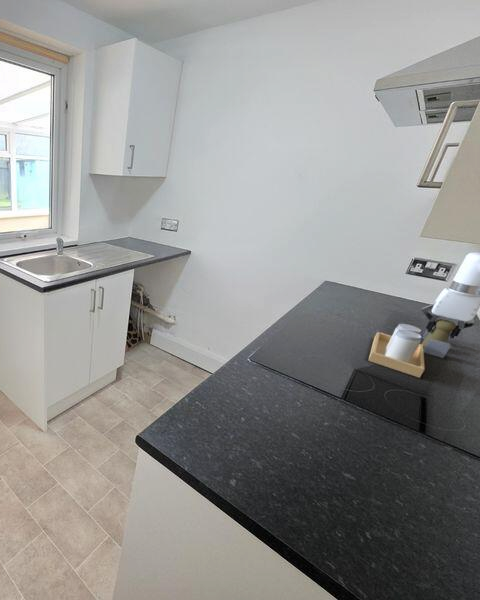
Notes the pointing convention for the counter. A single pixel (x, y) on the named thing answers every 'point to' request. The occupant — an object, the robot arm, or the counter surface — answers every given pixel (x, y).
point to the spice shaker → (403, 327)
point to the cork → (440, 331)
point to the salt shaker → (403, 345)
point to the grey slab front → (436, 348)
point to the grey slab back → (426, 334)
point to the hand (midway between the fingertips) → (440, 333)
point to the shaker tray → (412, 368)
